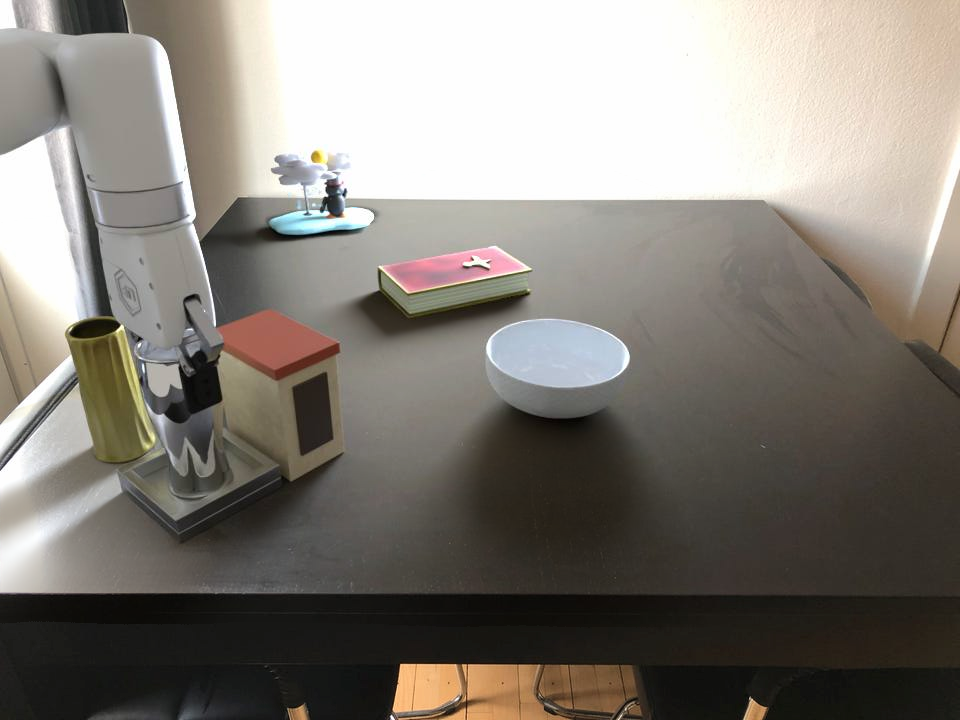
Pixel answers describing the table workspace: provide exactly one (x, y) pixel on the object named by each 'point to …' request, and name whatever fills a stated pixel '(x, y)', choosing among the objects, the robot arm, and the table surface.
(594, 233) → the table surface
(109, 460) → the vase
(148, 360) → the beer glass
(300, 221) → the penguin figurine
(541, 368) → the cereal bowl
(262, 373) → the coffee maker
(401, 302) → the hardcover book
